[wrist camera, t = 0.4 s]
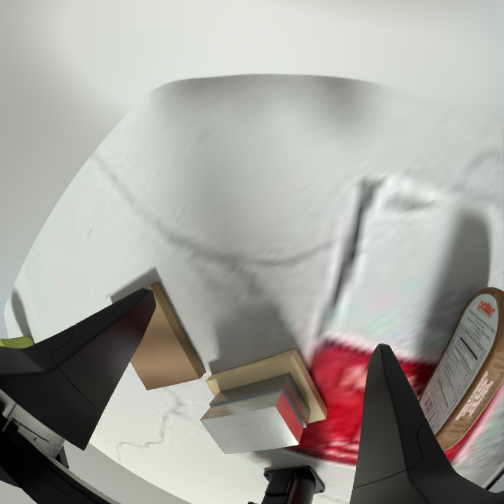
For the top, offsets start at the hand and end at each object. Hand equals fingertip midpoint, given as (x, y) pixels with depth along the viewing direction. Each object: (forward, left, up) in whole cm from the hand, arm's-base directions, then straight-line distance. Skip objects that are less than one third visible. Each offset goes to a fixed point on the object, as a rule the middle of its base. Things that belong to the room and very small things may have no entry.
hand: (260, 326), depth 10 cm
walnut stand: (0, +19, -14) cm, 24 cm away
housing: (-10, +9, -12) cm, 19 cm away
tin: (-14, -9, -14) cm, 22 cm away
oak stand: (-10, +9, -14) cm, 20 cm away
